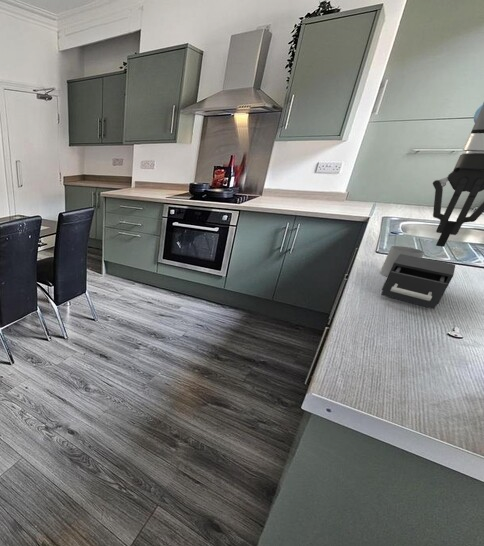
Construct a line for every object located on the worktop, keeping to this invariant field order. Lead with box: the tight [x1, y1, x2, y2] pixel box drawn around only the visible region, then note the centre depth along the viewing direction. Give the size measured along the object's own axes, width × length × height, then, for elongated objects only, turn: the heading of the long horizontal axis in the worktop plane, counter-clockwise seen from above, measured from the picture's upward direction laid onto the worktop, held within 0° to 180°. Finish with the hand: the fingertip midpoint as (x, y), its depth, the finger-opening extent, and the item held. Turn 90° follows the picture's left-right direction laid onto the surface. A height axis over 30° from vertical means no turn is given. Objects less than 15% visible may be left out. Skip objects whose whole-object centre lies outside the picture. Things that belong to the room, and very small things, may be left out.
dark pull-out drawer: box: [380, 266, 448, 310], centre depth 93 cm, size 18×11×8 cm, turn 130°
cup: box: [379, 245, 425, 278], centre depth 111 cm, size 8×8×10 cm
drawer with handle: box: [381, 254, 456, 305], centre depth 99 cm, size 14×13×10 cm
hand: (440, 245), depth 84 cm, fingers closed
